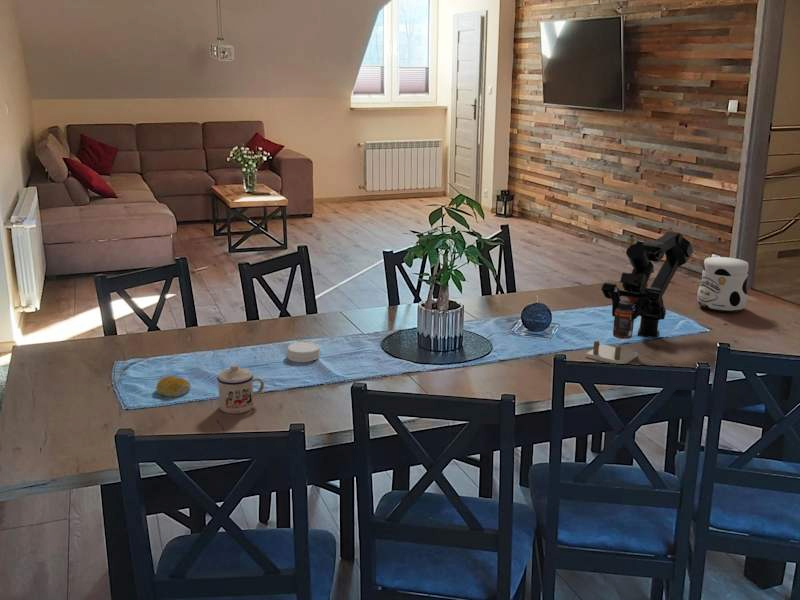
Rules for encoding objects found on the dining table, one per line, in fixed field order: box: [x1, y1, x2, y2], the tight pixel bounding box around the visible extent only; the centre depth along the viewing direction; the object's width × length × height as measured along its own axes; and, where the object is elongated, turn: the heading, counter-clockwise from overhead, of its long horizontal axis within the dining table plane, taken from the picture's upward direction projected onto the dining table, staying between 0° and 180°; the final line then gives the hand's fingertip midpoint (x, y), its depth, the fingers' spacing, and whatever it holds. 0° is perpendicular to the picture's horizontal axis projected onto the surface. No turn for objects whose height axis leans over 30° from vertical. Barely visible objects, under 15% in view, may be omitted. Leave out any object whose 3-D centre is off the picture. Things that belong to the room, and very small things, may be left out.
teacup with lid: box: [216, 364, 265, 415], centre depth 209 cm, size 12×9×12 cm
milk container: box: [696, 256, 750, 313], centre depth 297 cm, size 17×17×18 cm
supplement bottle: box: [612, 300, 635, 340], centre depth 252 cm, size 6×6×11 cm
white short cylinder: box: [286, 341, 321, 363], centre depth 246 cm, size 10×10×4 cm
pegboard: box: [585, 340, 638, 364], centre depth 249 cm, size 11×12×5 cm
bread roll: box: [156, 376, 191, 398], centre depth 219 cm, size 8×9×4 cm
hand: (622, 317), depth 250 cm, fingers closed on supplement bottle, 6 cm apart
